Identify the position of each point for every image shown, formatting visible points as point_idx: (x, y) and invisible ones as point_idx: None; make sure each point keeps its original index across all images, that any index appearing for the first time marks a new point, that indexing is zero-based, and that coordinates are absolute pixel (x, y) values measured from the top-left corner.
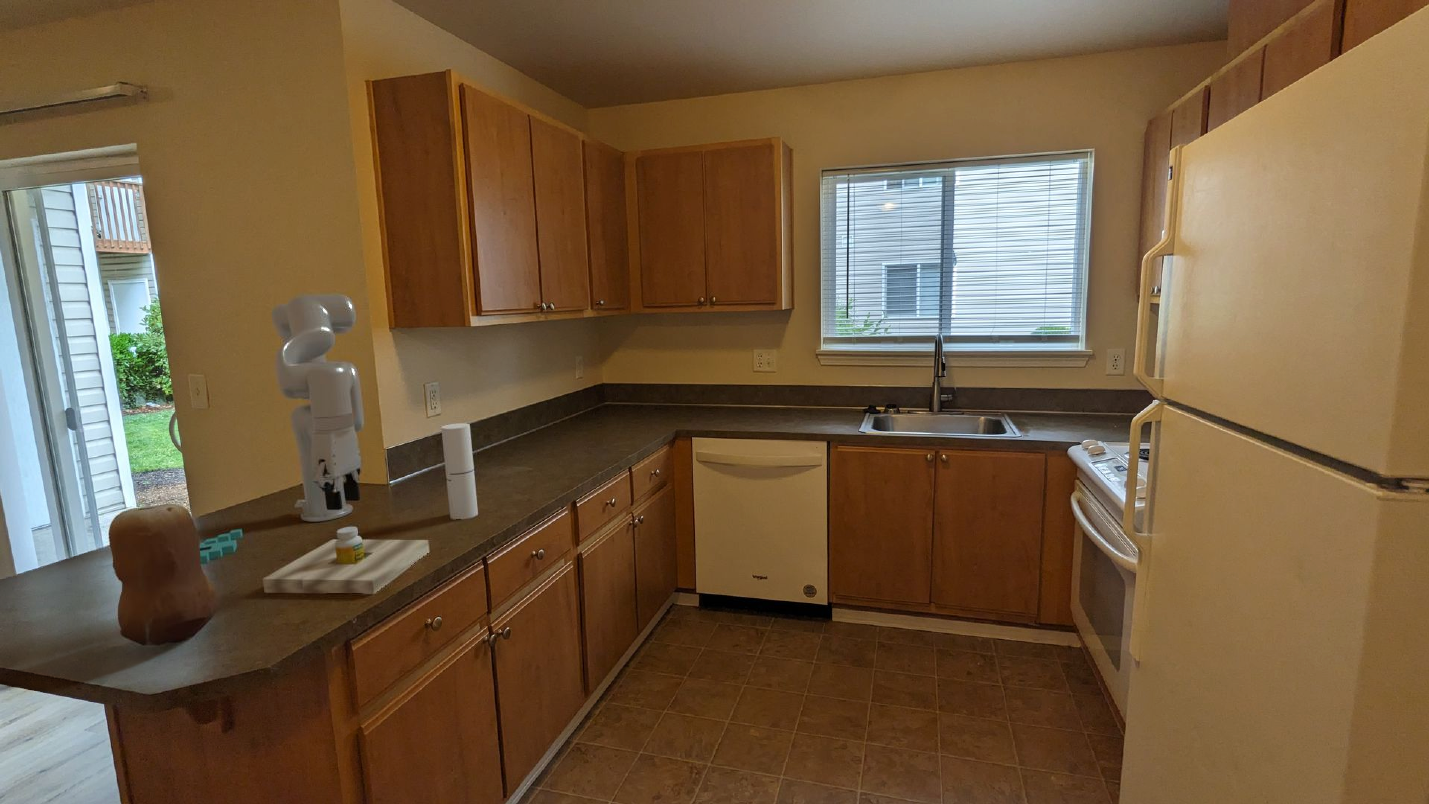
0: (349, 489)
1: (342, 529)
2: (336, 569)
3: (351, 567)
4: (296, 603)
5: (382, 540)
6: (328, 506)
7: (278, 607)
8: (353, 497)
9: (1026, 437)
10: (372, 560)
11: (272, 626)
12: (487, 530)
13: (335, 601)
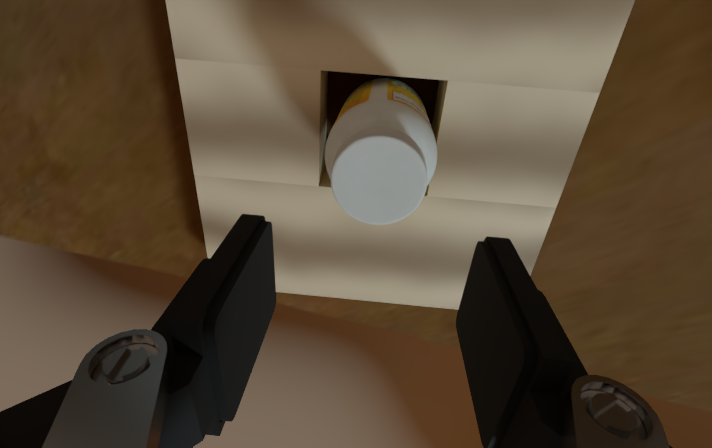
0: (488, 354)
1: (384, 156)
2: (273, 142)
3: (293, 185)
4: (134, 77)
5: (560, 170)
6: (207, 259)
7: (95, 30)
8: (467, 315)
9: None
10: (352, 224)
11: (6, 100)
12: (646, 371)
13: (173, 188)
